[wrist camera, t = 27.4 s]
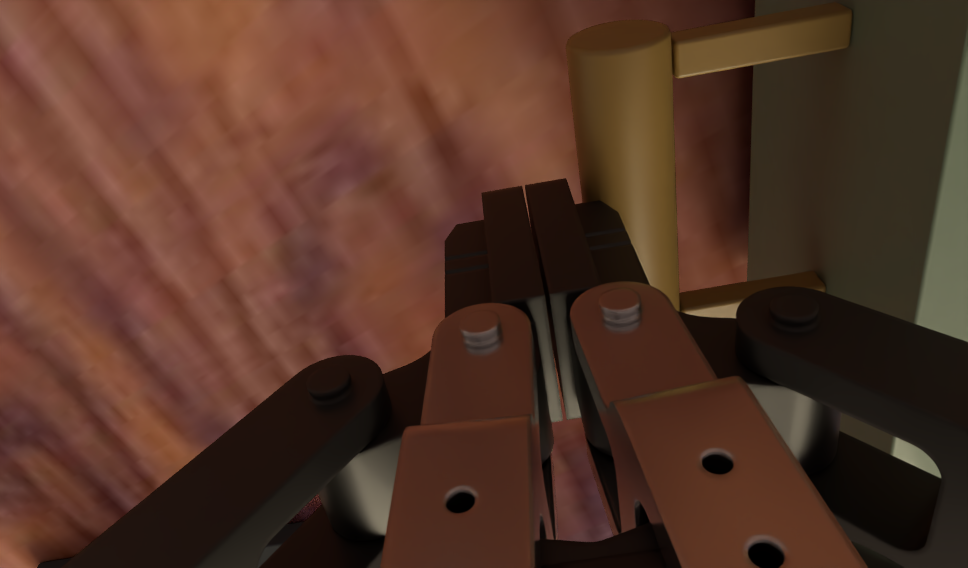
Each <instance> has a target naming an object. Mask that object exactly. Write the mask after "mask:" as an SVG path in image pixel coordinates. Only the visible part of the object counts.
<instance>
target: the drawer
mask: <svg viewBox="0 0 968 568" xmlns="http://www.w3.org/2000/svg"><path fill="white" fill-rule="evenodd" d="M566 56H567V65H568V74H569V83H570V92H571V102H572V111H573V120H574V129H575V138H576V148H577V157H578V166H579V175H580V185H581V194H582V203H587V202H593V201H599V200H600V201H602V202H604V203H605V204H607V205H608V206H610V207H611V208H613V209H614V210H616V211H618V212H619V215H620V217H621V219H622V222H623V224H624V226H625V230H626V231H627V233H628V235H629V238H630V240H631V244H632V245H633V247H634V249H635V251H636V254H637V256H638V258H639V261H640V263H641V265H642V268H643V270H644V272H645V274H646V277H647V279H648V281H649V284H650V286H653V287H655V288H657V289H659V290H661V291H662V292H663V293H664V294H666V295H667V297H668V298H669V299H670V301H671V303H672V304H673V306H674V307H675V309H676V310H677V311H679V312H683V313H686V314H690V315H695V316H703V317H719V318H736V312H737V308H738V306H739V305H740V303H741V302H742V301H743V300H744V299H745V298H747V297H748V296H750V295H751V294H753V293H756V292H758V291H761V290H764V289H768V288H773V287H783V286H794V287H804V288H809V289H814V290H818V291H821V292H824V293H827V294H830V295H833V296H836V297H839V298H842V299H844V300H847V301H850V302H853V303H856V304H859V305H862V306H865V307H868V308H871V309H873V310H876V311H879V312H882V313H885V314H888V315H891V316H894V317H897V318H900V319H902V320H905V321H908V322H911V323H914V324H917V325H920V326H923V327H926V328H929V329H932V330H934V331H937V332H940V333H943V334H946V335H949V336H952V337H955V338H958V339H961V340H963V341H966V342H968V0H755V17H751V18H746V19H741V20H735V21H730V22H724V23H719V24H714V25H708V26H703V27H697V28H692V29H687V30H681V31H676V32H670V30H669V28H668V26H666V25H665V24H663V23H660V22H655V21H649V20H622V21H614V22H608V23H603V24H599V25H595V26H592V27H589V28H586V29H584V30H582V31H580V32H577V33H576V34H574V35H572V36H571V37H570V38H569V39H568V41H567V44H566ZM751 65H753V93H752V128H751V164H750V199H749V234H748V269H747V282H741V283H735V284H729V285H723V286H717V287H711V288H705V289H699V290H693V291H687V292H681V293H679V269H678V237H677V205H676V174H675V142H674V110H673V78H672V74H673V75H674V76H675V77H676V78H679V79H680V78H685V77H691V76H696V75H702V74H707V73H713V72H718V71H724V70H729V69H735V68H740V67H746V66H751ZM839 431H841V432H844V433H846V434H848V435H850V436H852V437H854V438H856V439H858V440H860V441H863V442H865V443H867V444H869V445H871V446H873V447H875V448H877V449H880V450H882V451H884V452H886V453H888V454H890V455H892V456H894V457H897V458H899V459H901V460H903V461H905V462H907V463H909V464H911V465H914V466H916V467H918V468H920V469H922V470H924V471H926V472H928V473H931V474H933V475H935V476H937V477H939V478H941V474H940V472H939V469H938V467H937V466H936V464H935V463H934V461H933V460H932V459H931V458H930V457H929V456H928V455H927V454H926V453H925V452H923V451H922V450H921V449H919V448H918V447H916V446H914V445H912V444H910V443H908V442H906V441H903V440H901V439H899V438H897V437H895V436H892V435H890V434H888V433H886V432H884V431H881V430H879V429H877V428H875V427H872V426H870V425H868V424H866V423H864V422H861V421H859V420H857V419H855V418H853V417H850V416H848V415H846V414H844V413H842V415H841V422H840V430H839Z"/></svg>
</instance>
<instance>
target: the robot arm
mask: <svg viewBox="0 0 968 568" xmlns="http://www.w3.org/2000/svg"><path fill="white" fill-rule="evenodd" d="M525 189H526V197H527V204H528V210H529V217H530V222H529V217H528V213H527V208H526V203H525V198H524V193H523V189H522V186H518V187H512V188H506V189H500V190H494V191H489V192H483V193H482V203H483V213H484V220H481V221H475V222H469V223H463V224H457V225H456V226H455V227H454V229H453V230H452V232H451V233H450V234H449V236H448V237H447V239H446V240H445V319H444V320H443V321H442V322H441V323H440V324H439V325H438V326H437V328H436V330H435V331H434V334H433V338H432V346H431V350H430V351H429V352H428V353H427V354H425V355H424V356H423V357H421V358H419V359H418V360H416V361H414V362H412V363H410V364H408V365H405V366H403V367H400V368H398V369H395V370H392V371H390V372H387V373H385V374H382V371H381V369H380V367H379V366H378V365H377V364H376V363H375V362H374V361H372V360H370V359H368V358H365V357H362V356H355V355H343V356H336V357H331V358H327V359H324V360H321V361H319V362H316V363H314V364H312V365H310V366H308V367H307V368H305V369H303V370H302V371H300V372H299V373H298V374H296V375H295V376H294V377H293V378H291V379H290V380H289V381H288V382H287V383H285V384H284V385H283V386H282V387H280V388H279V389H278V390H277V391H276V392H274V393H273V394H272V395H271V396H269V397H268V398H267V399H266V400H265V401H263V402H262V403H261V404H260V405H258V406H257V407H256V408H255V409H254V410H252V411H251V412H250V413H249V414H248V415H246V416H245V417H244V418H243V419H241V420H240V421H239V422H238V423H237V424H235V425H234V426H233V427H232V428H230V429H229V430H228V431H227V432H226V433H224V434H223V435H222V436H221V437H219V438H218V439H217V440H216V441H215V442H213V443H212V444H211V445H210V446H208V447H207V448H206V449H205V450H204V451H202V452H201V453H200V454H199V455H197V456H196V457H195V458H194V459H193V460H191V461H190V462H189V463H188V464H187V465H185V466H184V467H183V468H182V469H180V470H179V471H178V472H177V473H176V474H174V475H173V476H172V477H171V478H169V479H168V480H167V481H166V482H165V483H163V484H162V485H161V486H160V487H158V488H157V489H156V490H155V491H154V492H152V493H151V494H150V495H149V496H147V497H146V498H145V499H144V500H143V501H141V502H140V503H139V504H138V505H136V506H135V507H134V508H133V509H132V510H130V511H129V512H128V513H127V514H126V515H124V516H123V517H122V518H121V519H119V520H118V521H117V522H116V523H115V524H113V525H112V526H111V527H110V528H108V529H107V530H106V531H105V532H104V533H102V534H101V535H100V536H99V537H97V538H96V539H95V540H94V541H93V542H91V543H90V544H89V545H88V546H86V547H85V548H84V549H83V550H82V551H80V552H79V553H78V554H77V555H75V556H74V557H73V558H72V559H71V560H69V561H68V562H67V563H66V564H65V565H63V566H62V567H61V568H258V565H259V560H260V557H261V555H262V553H263V551H264V549H265V547H266V546H267V544H268V543H269V541H270V540H271V539H272V538H273V537H274V536H275V535H276V534H277V533H278V532H279V531H280V530H281V529H282V528H283V527H284V526H285V525H286V524H287V523H288V522H289V521H290V520H291V519H292V518H293V517H294V516H295V515H296V514H297V513H298V512H299V511H300V510H301V509H302V508H303V507H304V506H305V505H307V504H308V503H309V502H310V501H311V500H312V499H313V498H314V497H315V496H316V495H317V494H318V495H319V497H320V500H321V502H322V505H321V506H320V507H319V508H318V509H317V510H316V511H315V512H314V513H313V514H312V515H311V516H310V517H309V518H308V519H307V520H306V521H305V522H304V523H303V524H302V525H301V526H300V527H299V528H298V529H297V530H296V531H295V532H294V533H293V534H292V535H291V536H290V537H289V538H288V539H287V540H286V541H285V542H284V543H283V544H282V545H281V546H280V547H279V548H278V549H277V550H276V551H275V552H274V553H273V554H272V555H271V556H270V557H269V558H268V559H267V560H266V561H265V562H264V563H263V564H262V565H261V566H260V567H259V568H968V342H966V341H963V340H961V339H958V338H955V337H952V336H949V335H946V334H943V333H940V332H937V331H934V330H932V329H929V328H926V327H923V326H920V325H917V324H914V323H911V322H908V321H905V320H902V319H900V318H897V317H894V316H891V315H888V314H885V313H882V312H879V311H876V310H873V309H871V308H868V307H865V306H862V305H859V304H856V303H853V302H850V301H847V300H844V299H842V298H839V297H836V296H833V295H830V294H827V293H824V292H821V291H818V290H814V289H809V288H804V287H794V286H783V287H773V288H768V289H764V290H761V291H758V292H756V293H753V294H751V295H750V296H748V297H747V298H745V299H744V300H743V301H742V302H741V303H740V305H739V306H738V308H737V312H736V318H719V317H703V316H695V315H690V314H686V313H683V312H679V311H677V310H676V309H675V307H674V306H673V304H672V303H671V301H670V299H669V298H668V297H667V295H666V294H664V293H663V292H662V291H661V290H659V289H657V288H655V287H653V286H650V284H649V281H648V279H647V277H646V274H645V272H644V270H643V268H642V265H641V263H640V261H639V258H638V256H637V254H636V251H635V249H634V247H633V245H632V244H631V240H630V238H629V235H628V233H627V231H626V230H625V226H624V224H623V222H622V219H621V217H620V215H619V212H618V211H616V210H614V209H613V208H611V207H610V206H608V205H607V204H605V203H604V202H602V201H600V200H599V201H593V202H587V203H581V204H575V203H574V200H573V197H572V194H571V191H570V188H569V185H568V182H567V180H566V178H564V179H558V180H553V181H547V182H541V183H535V184H529V185H525ZM530 224H531V227H530ZM531 231H532V232H531ZM553 353H554V355H553ZM554 358H555V362H554ZM555 363H556V368H557V373H558V378H559V383H560V387H561V392H562V397H563V402H564V407H565V412H566V417H567V420H569V419H575V418H582V422H583V427H584V431H585V439H586V447H587V455H588V460H589V463H590V466H591V469H592V472H593V475H594V478H595V481H596V484H597V488H598V491H599V494H600V497H601V500H602V503H603V506H604V509H605V512H606V515H607V518H608V521H609V524H610V527H611V530H612V533H613V537H610V538H608V539H605V540H602V541H597V542H577V541H564V540H558V525H557V510H556V495H555V480H554V466H553V460H552V453H551V452H552V449H553V445H554V437H553V430H552V424H551V422H557V421H563V418H562V411H561V404H560V397H559V390H558V383H557V376H556V369H555ZM842 413H844V414H846V415H848V416H850V417H853V418H855V419H857V420H859V421H861V422H864V423H866V424H868V425H870V426H872V427H875V428H877V429H879V430H881V431H884V432H886V433H888V434H890V435H892V436H895V437H897V438H899V439H901V440H903V441H906V442H908V443H910V444H912V445H914V446H916V447H918V448H919V449H921V450H922V451H923V452H925V453H926V454H927V455H928V456H929V457H930V458H931V459H932V460H933V461H934V463H935V464H936V466H937V467H938V469H939V472H940V474H941V478H939V477H937V476H935V475H933V474H931V473H928V472H926V471H924V470H922V469H920V468H918V467H916V466H914V465H911V464H909V463H907V462H905V461H903V460H901V459H899V458H897V457H894V456H892V455H890V454H888V453H886V452H884V451H882V450H880V449H877V448H875V447H873V446H871V445H869V444H867V443H865V442H863V441H860V440H858V439H856V438H854V437H852V436H850V435H848V434H846V433H844V432H841V431H839V430H840V422H841V415H842Z"/></svg>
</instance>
